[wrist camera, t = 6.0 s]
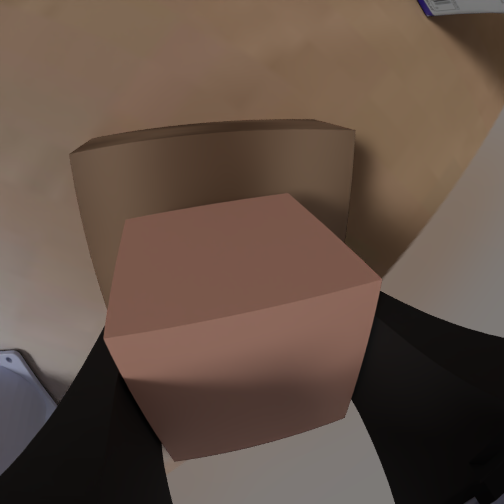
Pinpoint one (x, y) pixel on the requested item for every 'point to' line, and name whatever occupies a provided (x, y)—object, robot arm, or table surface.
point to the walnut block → (208, 175)
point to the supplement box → (461, 7)
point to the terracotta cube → (238, 323)
